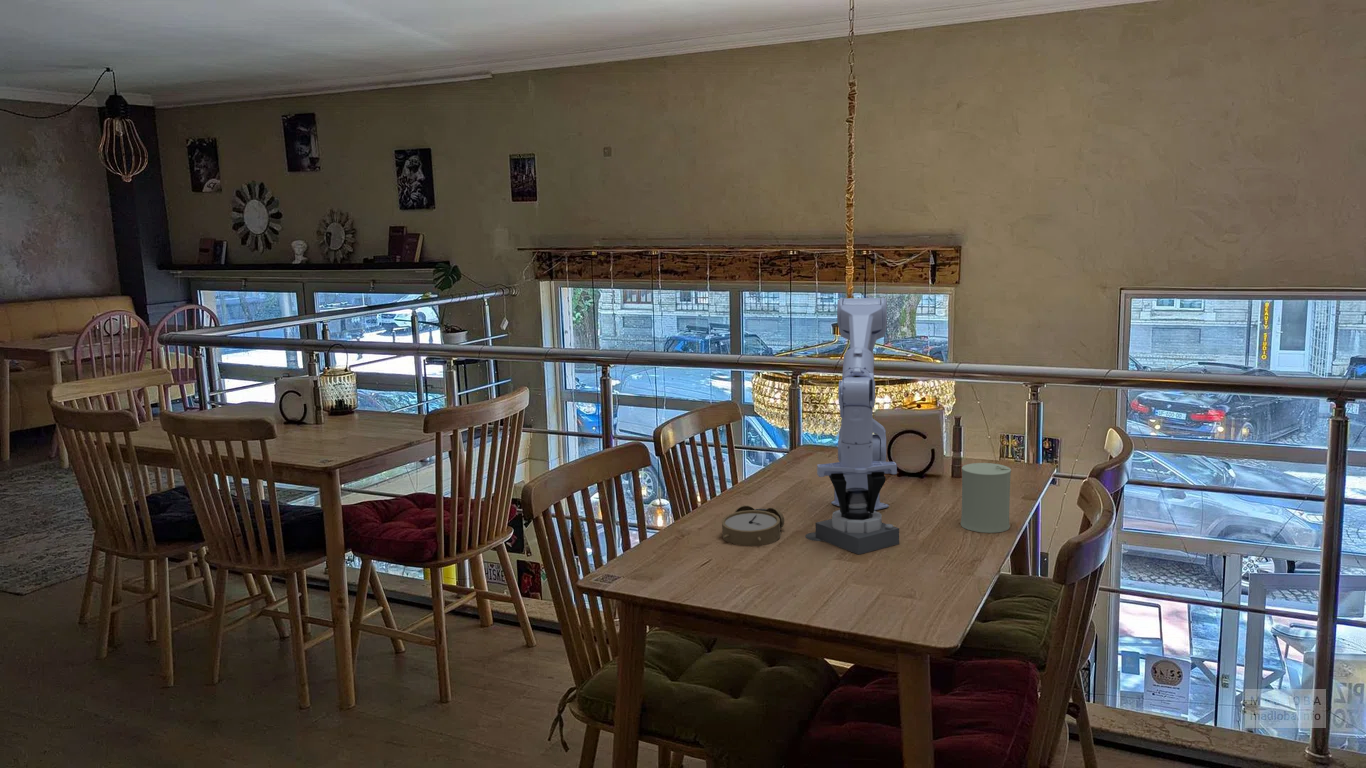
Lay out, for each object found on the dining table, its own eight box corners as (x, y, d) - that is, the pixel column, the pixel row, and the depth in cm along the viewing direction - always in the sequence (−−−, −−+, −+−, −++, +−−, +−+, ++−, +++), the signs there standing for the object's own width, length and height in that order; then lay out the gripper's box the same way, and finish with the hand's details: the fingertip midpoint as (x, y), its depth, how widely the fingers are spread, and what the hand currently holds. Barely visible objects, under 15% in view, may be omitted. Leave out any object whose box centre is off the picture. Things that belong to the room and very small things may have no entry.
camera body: (815, 537, 185) (815, 512, 184) (855, 528, 190) (855, 503, 189) (858, 554, 175) (858, 527, 174) (899, 543, 180) (899, 517, 179)
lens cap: (799, 539, 187) (799, 535, 186) (821, 534, 189) (821, 530, 189) (816, 546, 182) (816, 542, 182) (838, 541, 185) (838, 537, 185)
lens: (847, 526, 180) (846, 494, 179) (842, 518, 184) (841, 487, 183) (872, 524, 180) (871, 492, 179) (866, 517, 184) (865, 485, 183)
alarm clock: (712, 529, 183) (737, 495, 196) (715, 552, 184) (739, 517, 198) (769, 534, 179) (791, 499, 192) (771, 558, 180) (792, 522, 193)
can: (1012, 534, 184) (1014, 472, 182) (962, 532, 186) (963, 471, 184) (1006, 519, 193) (1008, 460, 191) (958, 518, 195) (959, 459, 193)
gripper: (821, 447, 175) (822, 519, 177) (901, 444, 175) (900, 516, 178) (815, 438, 182) (815, 508, 184) (891, 436, 182) (891, 506, 185)
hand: (856, 512), depth 181 cm, fingers closed on lens, 5 cm apart
